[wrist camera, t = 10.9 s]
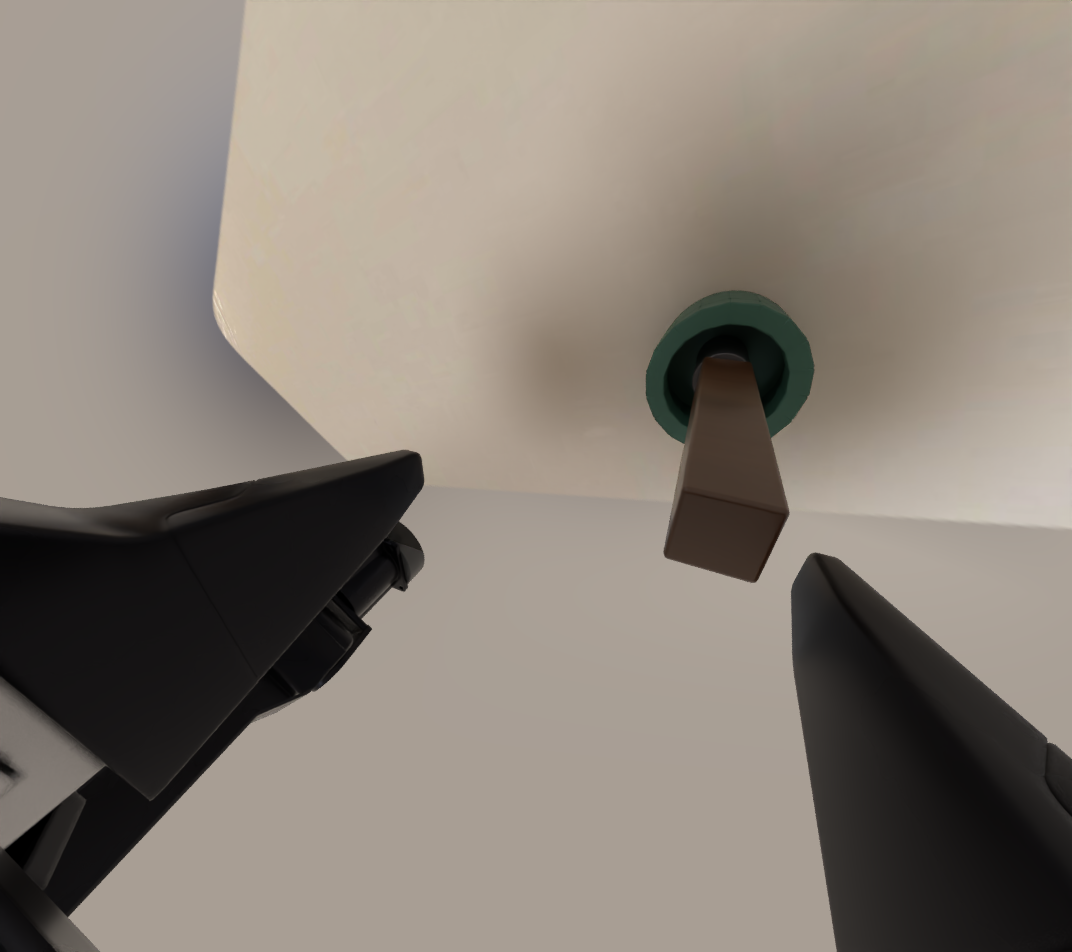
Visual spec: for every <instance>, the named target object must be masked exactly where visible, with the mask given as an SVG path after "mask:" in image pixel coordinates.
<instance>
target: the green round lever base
mask: <svg viewBox="0 0 1072 952" xmlns="http://www.w3.org/2000/svg"><path fill="white" fill-rule="evenodd" d="M721 335H730V336H734V337H736V338H738V339H740V340H741V341H742V342H743V343H744V344H745V346H746V349H747V352H748V356H749V360H750V363H752V366H753V370H754V374H755V378H756V382H757V386H758V390H759V394H760V398H761V402H762V406H763V410H764V413H765V417H766V421H767V425H768V429H769V433H770V437H771V438H772V437H773V436H774V435H775V434H777V433H778V432H779V431H780V430H782V429H783V428H784V427H785V426H787V425H788V424H789V423H791V422H792V419H794V418H795V416H796V414H797V413H798V411H799V410H800V408H801V407H802V405H803V404H804V402H805V401H806V399H807V396H808V395H809V393H810V388H811V384H812V379H813V374H814V362H813V358H812V353H811V349H810V345H809V342H808V341H807V338H806V336H805V335H804V334H803V333H802V332H801V330H800V329H799V328H798V327H797V325H796V324H795V323H794V322H793V321H792V319H791V318H790V317H789V316H788V315H787V314H786V313H785V312H784V311H783V310H782V309H781V308H780V307H779V306H778V305H777V304H776V303H774V302H772V301H770V300H769V299H767V298H765V297H763V296H761V295H759V294H755V293H752V292H747V291H726V292H720V293H716V294H713V295H710V296H707V297H705V298H703V299H701V300H699V301H697V302H695V303H694V304H692V305H691V306H690V307H688V308H687V309H686V310H685V311H683V312H682V313H681V314H680V315H679V317H678V318H677V319H676V320H675V321H674V323H673V324H672V325H671V326H670V328H669V329H668V330H667V331H666V333H665V334H664V336H663V337H662V339H661V340H660V342H659V344H658V345H657V347H656V348H655V350H654V352H653V355H652V358H651V360H650V363H649V366H648V369H647V371H646V373H647V374H646V396H647V401H648V404H649V406H650V409H651V412H652V414H653V417H654V418H655V420H656V421H657V422H658V424H659V425H660V426H661V427H662V428H663V429H664V430H665V431H666V432H667V434H668V435H670V436H671V437H673V438H674V439H676V440H678V441H680V442H682V443H683V444H684V443H685V438H686V433H687V428H688V422H689V417H690V412H691V407H692V402H693V397H694V391H693V387H692V378H693V373H694V369H695V365H696V360H697V356H698V353H699V351H700V349H701V348H702V346H703V345H704V344H705V343H706V342H707V341H709V340H710V339H712V338H714V337H717V336H721Z"/></svg>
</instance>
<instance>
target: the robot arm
mask: <svg viewBox="0 0 1072 952" xmlns="http://www.w3.org/2000/svg"><path fill="white" fill-rule="evenodd" d="M423 485H424V473H423V466H422V459H421V456H420V454H418V453H417V452H413V451H409V450H400V451H395V452H390V453H385V454H380V455H376V456H371V457H366V458H361V459H356V460H351V461H346V462H342V463H336V464H332V465H326V466H322V467H317V468H312V469H307V470H302V471H297V472H293V473H287V474H282V475H278V476H273V477H268V478H263V479H258V480H257V481H255V480H253V481H248V482H243V483H238V484H233V485H228V486H222V487H217V488H212V489H207V490H201V491H195V492H190V493H184V494H178V495H172V496H166V497H161V498H154V499H148V500H142V501H136V502H130V503H124V504H118V505H112V506H104V507H95V508H64V507H55V506H48V505H42V504H36V503H30V502H25V501H19V500H13V499H7V498H1V497H0V952H100V951H99V950H98V949H97V948H96V947H95V946H94V945H93V944H92V943H91V942H90V941H89V939H88V938H87V937H86V936H85V935H84V934H83V933H82V932H81V931H80V930H79V929H78V928H77V927H76V926H75V925H74V924H73V923H72V921H71V920H70V919H68V916H69V915H70V914H71V913H72V912H73V911H74V910H75V909H76V908H77V907H78V906H79V905H80V903H82V902H83V901H84V899H85V898H86V897H87V896H88V895H89V894H90V893H91V892H92V891H93V890H94V889H95V888H96V887H97V886H98V885H99V884H100V883H101V881H102V880H103V879H104V878H105V877H106V876H107V875H108V874H109V873H110V872H111V871H112V870H113V869H114V868H115V866H117V864H118V863H119V862H120V861H121V860H122V859H123V858H124V857H125V856H126V855H127V854H128V853H129V852H130V851H131V849H132V848H133V847H134V846H135V845H136V844H137V843H138V842H139V841H140V840H141V839H142V838H143V837H144V836H145V835H146V834H147V832H148V831H149V830H150V829H151V828H152V827H153V826H154V825H155V824H156V823H157V822H158V821H159V820H160V819H161V818H162V816H164V815H165V813H166V812H167V811H168V810H169V809H170V808H171V807H172V806H173V805H174V804H175V803H176V802H177V801H178V800H179V798H180V797H181V796H182V795H183V794H184V793H185V792H186V791H187V790H188V789H189V788H190V787H191V786H192V785H193V784H194V782H196V780H197V779H198V778H199V777H200V776H201V775H202V774H203V773H204V772H205V771H206V770H207V769H208V768H209V767H210V766H211V765H212V763H213V762H214V761H215V760H216V759H217V758H218V757H219V756H220V755H221V754H222V753H223V752H224V751H225V750H226V749H227V747H228V746H229V745H230V744H231V743H232V742H233V741H234V740H235V739H236V738H237V737H238V736H239V735H240V734H241V733H242V732H243V730H244V729H245V728H246V727H247V726H248V725H249V724H250V723H252V722H254V721H257V720H259V719H261V718H264V717H267V716H269V715H271V714H274V713H276V712H278V711H280V710H281V709H283V708H285V707H286V706H288V705H290V704H291V703H293V702H295V701H296V700H298V699H300V698H301V697H303V696H305V695H306V694H308V693H310V692H311V691H316V690H318V689H319V688H321V687H322V686H323V685H324V684H325V683H327V682H328V681H329V680H330V679H331V678H332V677H333V676H334V675H335V674H336V673H337V672H338V671H339V670H340V669H341V668H342V666H343V665H344V664H345V663H346V661H347V660H348V659H349V658H350V657H351V655H352V654H353V653H354V652H355V650H356V649H357V647H358V646H359V645H360V644H361V643H362V641H363V640H364V639H365V637H366V636H367V635H368V634H369V632H370V631H371V630H372V628H371V627H370V626H369V625H367V624H365V623H364V621H363V620H362V618H363V617H364V616H365V615H366V614H367V613H368V611H370V610H371V609H372V607H373V606H374V605H375V604H376V603H377V602H378V601H379V600H380V599H381V598H382V597H383V596H384V595H385V594H386V593H387V592H388V591H389V590H390V589H391V588H392V587H393V588H395V589H398V590H401V591H405V590H406V589H407V588H408V585H407V581H406V576H405V571H404V567H403V562H402V557H401V552H400V548H399V545H398V544H397V543H395V542H393V541H390V540H387V539H385V538H386V537H387V535H388V534H389V533H390V532H391V531H392V529H393V528H394V527H395V525H396V524H397V523H398V521H399V520H400V519H401V517H402V516H403V514H404V513H405V512H406V510H407V509H408V507H409V506H410V505H411V503H412V502H413V500H414V499H415V498H416V496H417V494H418V493H419V492H420V491H421V489H422V487H423ZM791 613H792V655H793V668H794V678H795V684H796V690H797V697H798V703H799V709H800V716H801V723H802V729H803V735H804V742H805V748H806V754H807V762H808V768H809V774H810V780H811V787H812V794H813V800H814V807H815V813H816V819H817V826H818V833H819V839H820V846H821V852H822V859H823V865H824V871H825V877H826V885H827V891H828V897H829V904H830V910H831V916H832V923H833V929H834V936H835V943H836V949H837V952H1072V759H1071V758H1070V757H1069V756H1068V755H1066V754H1065V753H1064V752H1063V751H1062V750H1061V749H1059V748H1058V747H1057V746H1056V745H1054V744H1052V743H1047V738H1046V737H1045V736H1044V735H1043V734H1042V733H1041V732H1039V731H1038V730H1037V729H1036V728H1035V727H1034V726H1033V725H1031V724H1030V723H1029V722H1028V721H1027V720H1026V719H1024V718H1023V717H1022V716H1021V715H1020V714H1019V713H1017V712H1016V711H1015V710H1014V709H1013V708H1012V707H1010V706H1009V705H1008V704H1007V703H1006V702H1005V701H1003V700H1002V699H1001V698H1000V697H999V696H998V695H997V694H995V693H994V692H993V691H992V690H991V689H989V688H988V687H987V686H986V685H985V684H984V683H983V682H981V681H980V680H979V679H978V678H977V677H975V676H974V675H973V674H972V673H971V672H970V671H969V670H967V669H966V668H965V667H964V666H963V665H962V664H960V663H959V662H958V661H957V660H956V659H955V658H954V657H952V656H951V655H950V654H949V653H948V652H947V651H945V650H944V649H943V648H942V647H941V646H940V645H938V644H937V643H936V642H935V641H934V640H933V639H931V638H930V637H929V636H928V635H927V634H926V633H924V632H923V631H922V630H921V629H920V628H919V627H917V626H916V625H915V624H914V623H913V622H912V621H910V620H909V619H908V618H907V617H906V616H905V615H903V614H902V613H901V612H900V611H899V610H898V609H897V608H895V607H894V606H893V605H892V604H891V603H889V602H888V601H887V600H886V599H885V598H884V597H883V596H881V595H880V594H879V593H878V592H877V591H876V590H874V589H873V588H872V587H871V586H870V585H869V584H868V583H866V582H865V581H864V580H863V579H862V578H861V577H859V576H858V575H857V574H856V573H855V572H854V571H852V570H851V569H850V568H849V567H848V566H846V565H845V564H844V563H843V562H842V561H841V560H839V559H838V558H835V557H832V556H828V555H824V554H820V553H812V554H810V555H809V556H808V557H807V559H806V561H805V563H804V564H803V566H802V568H801V570H800V572H799V573H798V575H797V577H796V579H795V581H794V583H793V585H792V590H791Z"/></svg>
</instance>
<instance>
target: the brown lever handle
mask: <svg viewBox="0 0 1072 952" xmlns="http://www.w3.org/2000/svg"><path fill="white" fill-rule="evenodd" d="M692 387H693V391H694V397H693V402H692V407H691V412H690V417H689V422H688V428H687V433H686V438H685V443H684V448H683V454H682V459H681V464H680V469H679V474H678V479H677V485H676V490H675V495H674V500H673V506H672V511H671V516H670V521H669V527H668V532H667V536H666V542H665V547H664V556H665V557H666V558H667V559H671V560H674V561H678V562H681V563H685V564H688V565H691V566H695V567H698V568H702V569H706V570H709V571H713V572H716V573H719V574H723V575H726V576H730V577H733V578H737V579H740V580H744V581H747V582H751V583H755V582H756V581H757V580H758V579H759V576H760V574H761V573H762V570H763V568H764V566H765V564H766V562H767V560H768V558H769V556H770V554H771V552H772V550H773V547H774V545H775V543H776V541H777V539H778V537H779V535H780V533H781V531H782V529H783V527H784V524H785V522H786V520H787V518H788V516H789V508H788V504H787V500H786V496H785V492H784V488H783V484H782V480H781V476H780V473H779V469H778V465H777V461H776V457H775V453H774V449H773V445H772V441H771V437H770V433H769V429H768V425H767V421H766V417H765V413H764V410H763V406H762V402H761V398H760V394H759V390H758V386H757V382H756V378H755V374H754V370H753V366H752V363H750V360H749V356H748V352H747V349H746V346H745V344H744V343H743V342H742V341H741V340H740V339H738V338H736V337H734V336H730V335H721V336H717V337H714V338H712V339H710V340H709V341H707V342H706V343H705V344H704V345H703V346H702V348H701V349H700V351H699V353H698V356H697V360H696V365H695V369H694V373H693V378H692Z"/></svg>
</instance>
